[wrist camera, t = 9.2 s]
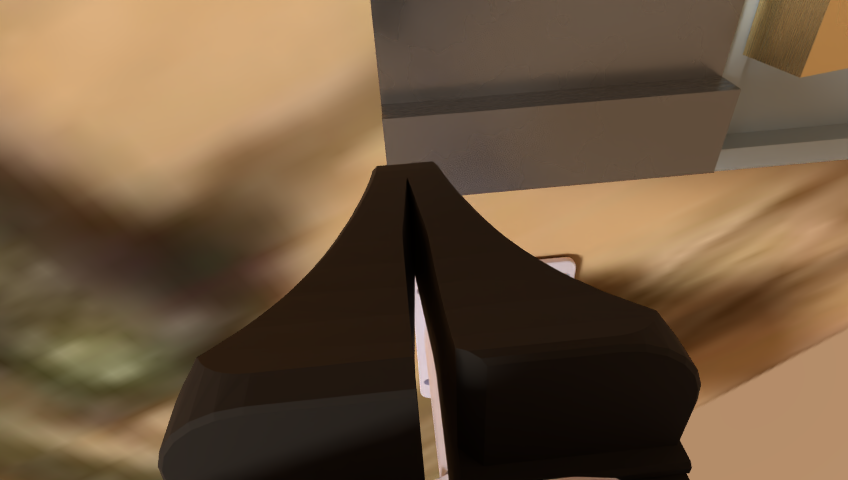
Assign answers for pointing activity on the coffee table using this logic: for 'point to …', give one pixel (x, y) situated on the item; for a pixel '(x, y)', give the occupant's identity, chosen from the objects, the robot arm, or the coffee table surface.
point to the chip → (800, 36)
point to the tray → (781, 111)
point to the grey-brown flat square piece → (555, 88)
